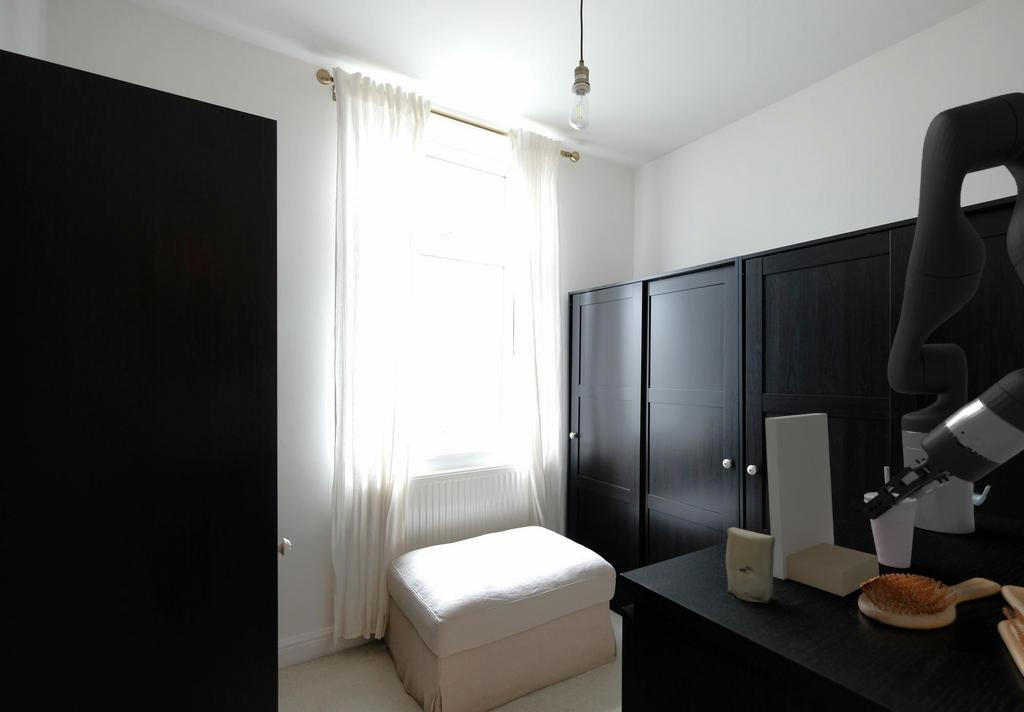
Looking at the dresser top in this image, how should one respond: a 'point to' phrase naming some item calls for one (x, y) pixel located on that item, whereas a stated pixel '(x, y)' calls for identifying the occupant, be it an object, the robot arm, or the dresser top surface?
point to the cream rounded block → (750, 565)
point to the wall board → (808, 508)
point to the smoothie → (894, 531)
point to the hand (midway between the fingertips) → (878, 510)
